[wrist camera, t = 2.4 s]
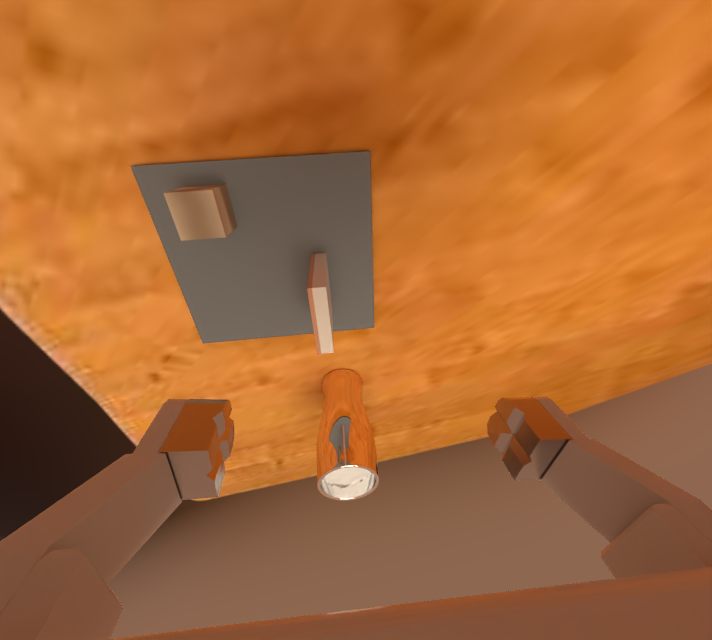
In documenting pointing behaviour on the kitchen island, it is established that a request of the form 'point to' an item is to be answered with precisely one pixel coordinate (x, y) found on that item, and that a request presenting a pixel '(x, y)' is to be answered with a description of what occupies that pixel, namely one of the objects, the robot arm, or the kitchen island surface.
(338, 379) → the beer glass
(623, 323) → the kitchen island surface
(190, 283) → the mat
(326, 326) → the tile
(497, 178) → the kitchen island surface
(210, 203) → the beech cube
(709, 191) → the kitchen island surface
